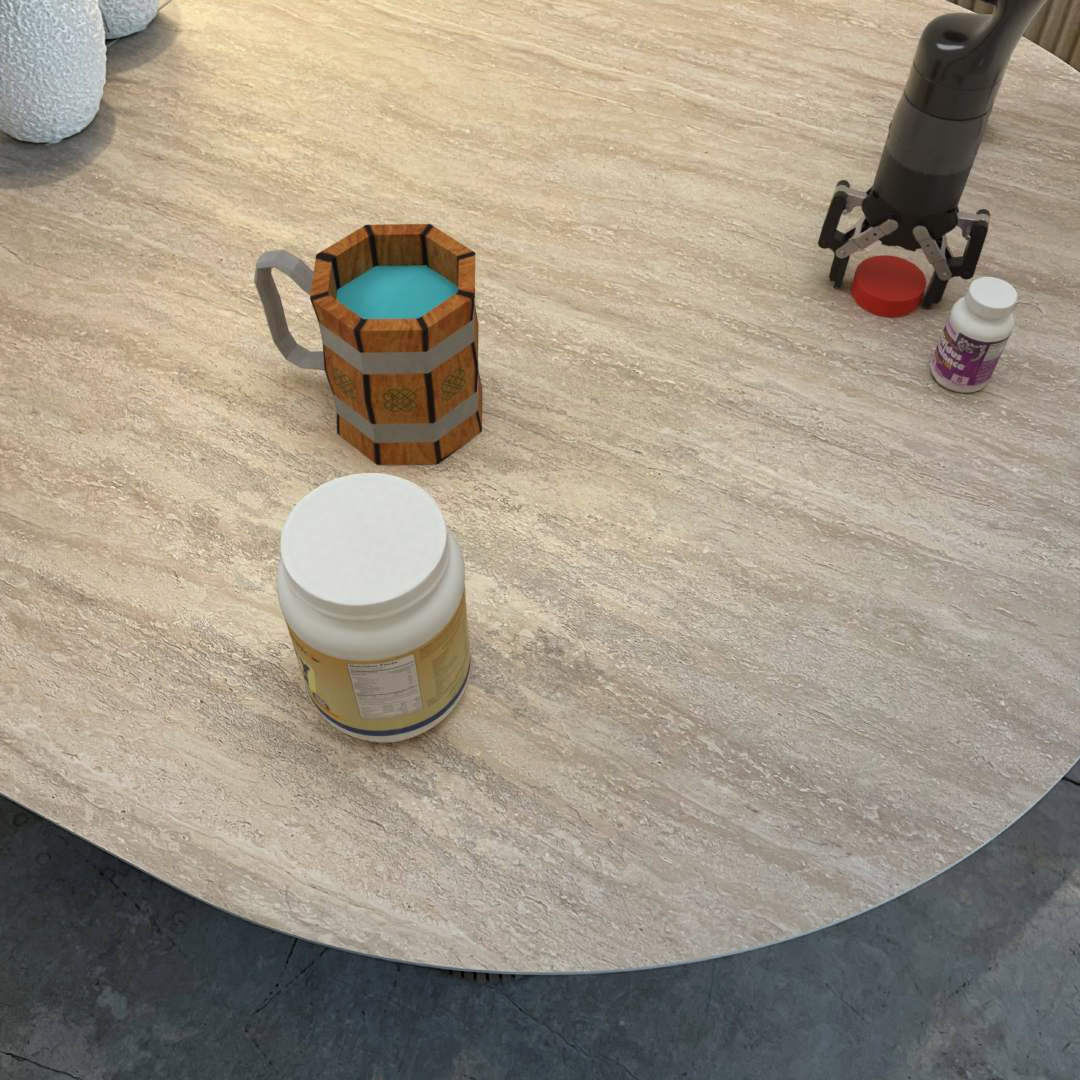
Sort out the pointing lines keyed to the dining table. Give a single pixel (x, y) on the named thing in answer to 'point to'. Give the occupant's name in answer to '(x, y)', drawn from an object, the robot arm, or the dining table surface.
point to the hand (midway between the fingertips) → (882, 292)
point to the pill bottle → (975, 335)
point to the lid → (888, 286)
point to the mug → (389, 338)
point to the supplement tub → (375, 606)
